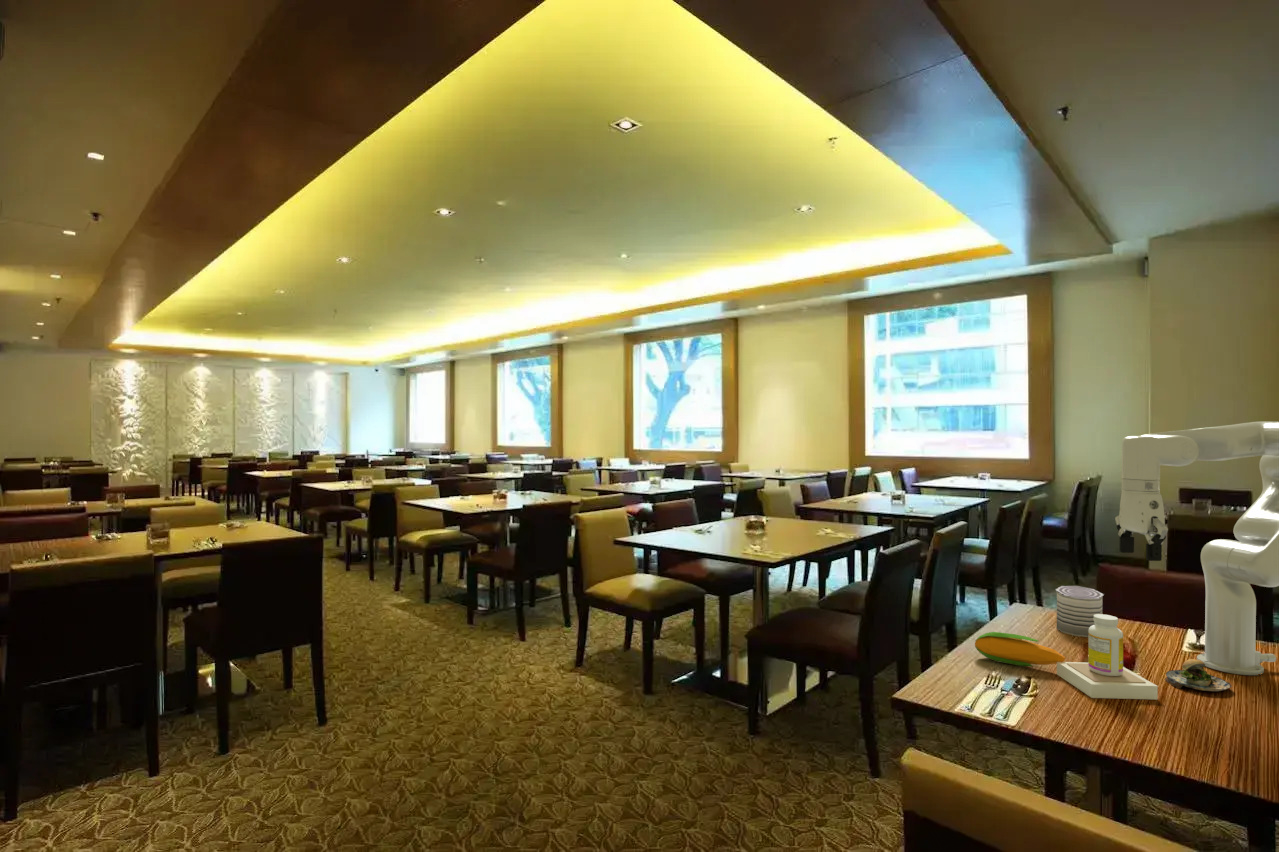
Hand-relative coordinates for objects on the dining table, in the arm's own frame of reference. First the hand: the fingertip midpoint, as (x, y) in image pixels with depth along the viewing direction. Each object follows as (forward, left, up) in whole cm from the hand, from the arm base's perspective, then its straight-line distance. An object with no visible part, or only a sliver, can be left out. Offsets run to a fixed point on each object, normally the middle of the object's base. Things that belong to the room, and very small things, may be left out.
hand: (1139, 556), depth 166 cm
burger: (-8, +8, -29) cm, 31 cm away
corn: (+27, -3, -28) cm, 39 cm away
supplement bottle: (+14, +10, -25) cm, 30 cm away
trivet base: (+14, +10, -28) cm, 33 cm away
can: (-4, -32, -29) cm, 43 cm away
